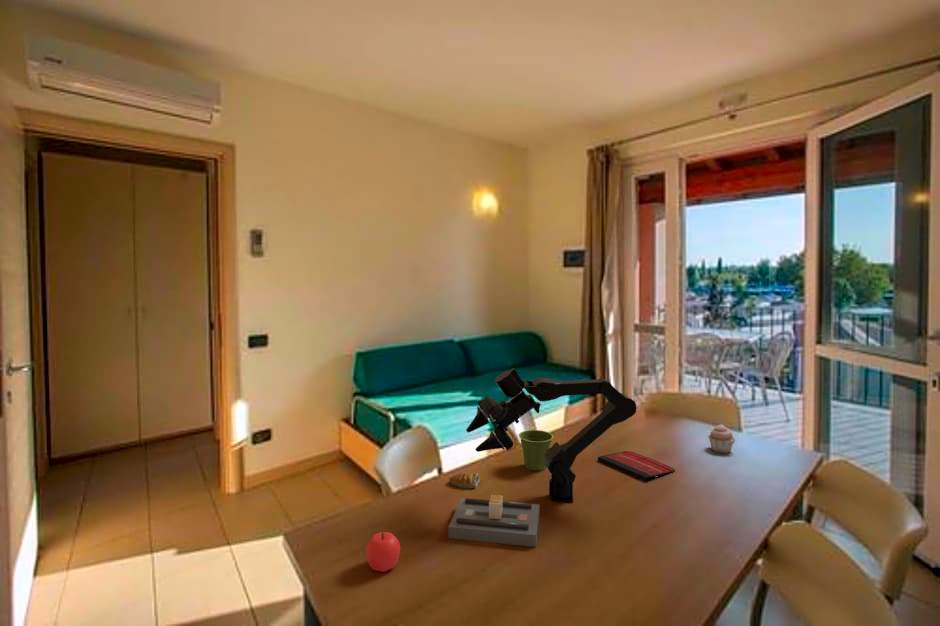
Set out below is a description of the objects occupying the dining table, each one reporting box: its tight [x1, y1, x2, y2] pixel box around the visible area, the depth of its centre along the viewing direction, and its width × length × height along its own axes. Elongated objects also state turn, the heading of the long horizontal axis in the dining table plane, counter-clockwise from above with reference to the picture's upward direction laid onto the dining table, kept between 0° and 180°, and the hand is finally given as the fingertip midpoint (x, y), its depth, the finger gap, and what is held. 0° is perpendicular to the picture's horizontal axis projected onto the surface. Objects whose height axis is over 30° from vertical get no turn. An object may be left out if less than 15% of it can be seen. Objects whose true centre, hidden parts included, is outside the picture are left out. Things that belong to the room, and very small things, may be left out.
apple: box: [365, 531, 401, 573], centre depth 112 cm, size 8×8×8 cm
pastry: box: [448, 471, 480, 489], centre depth 155 cm, size 9×7×4 cm
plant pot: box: [518, 429, 554, 472], centre depth 167 cm, size 12×12×11 cm
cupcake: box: [707, 423, 736, 454], centre depth 181 cm, size 9×9×10 cm
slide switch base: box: [447, 497, 541, 548], centre depth 129 cm, size 22×16×4 cm
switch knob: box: [489, 494, 504, 519], centre depth 129 cm, size 3×5×4 cm, turn 169°
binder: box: [597, 450, 676, 483], centre depth 168 cm, size 16×2×21 cm
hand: (471, 440), depth 142 cm, fingers open, 9 cm apart
